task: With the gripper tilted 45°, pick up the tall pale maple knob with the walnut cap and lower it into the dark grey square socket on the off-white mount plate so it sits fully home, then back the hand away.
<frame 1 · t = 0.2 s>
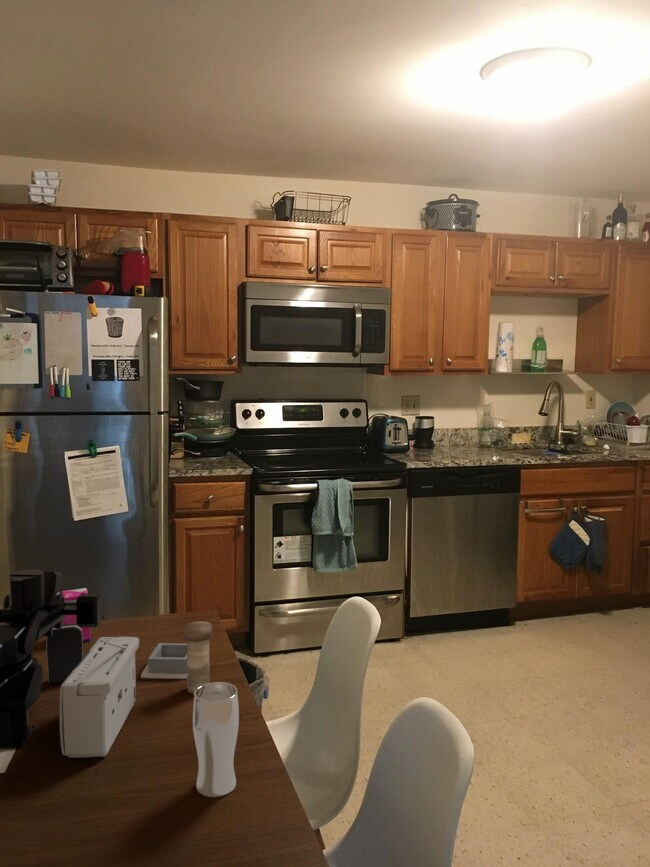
hand: (70, 596, 139), 17 cm above the table, tool horizontal, fingers open, 9 cm apart
maple knob: (198, 689, 134), on the table
mount plate: (173, 668, 144), on the table
supplement box: (76, 639, 159), on the table
stereo radio cassette player: (103, 730, 119), on the table
beer glass: (216, 786, 103), on the table
battery charger: (65, 679, 138), on the table
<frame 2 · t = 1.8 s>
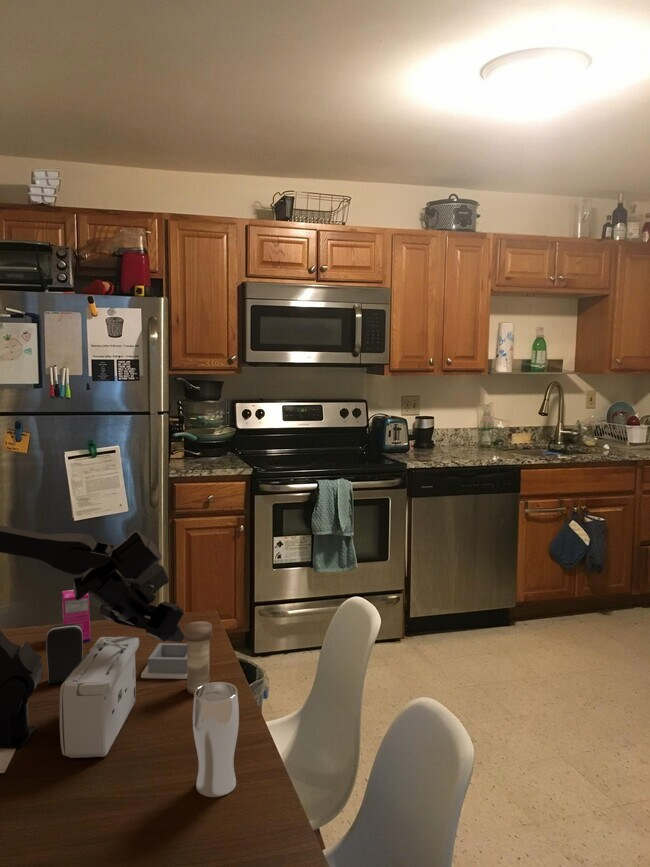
hand: (166, 633, 127), 14 cm above the table, tool tilted 45°, fingers open, 9 cm apart
nothing on the table moved.
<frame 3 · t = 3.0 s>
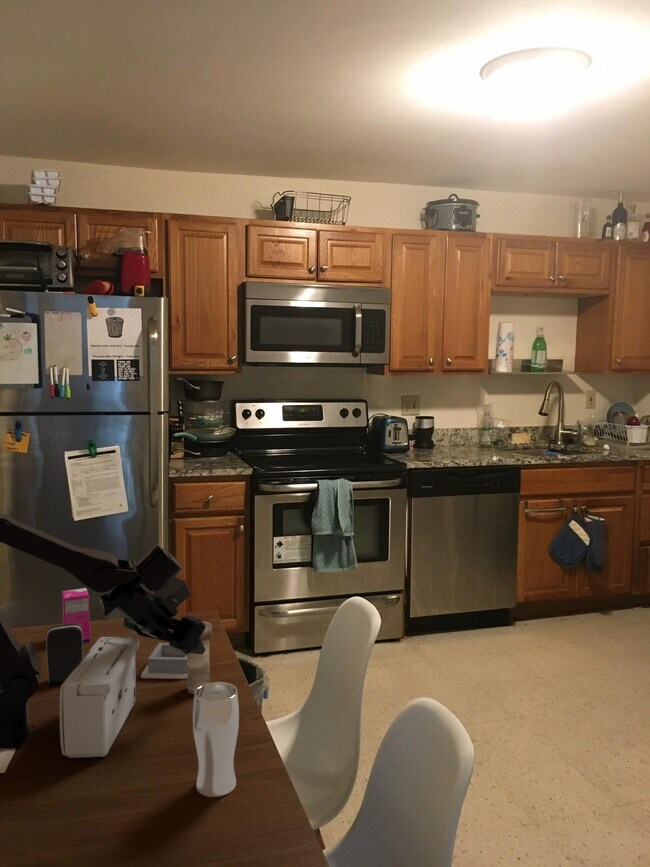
hand: (188, 645, 131), 10 cm above the table, tool tilted 45°, fingers open, 9 cm apart
nothing on the table moved.
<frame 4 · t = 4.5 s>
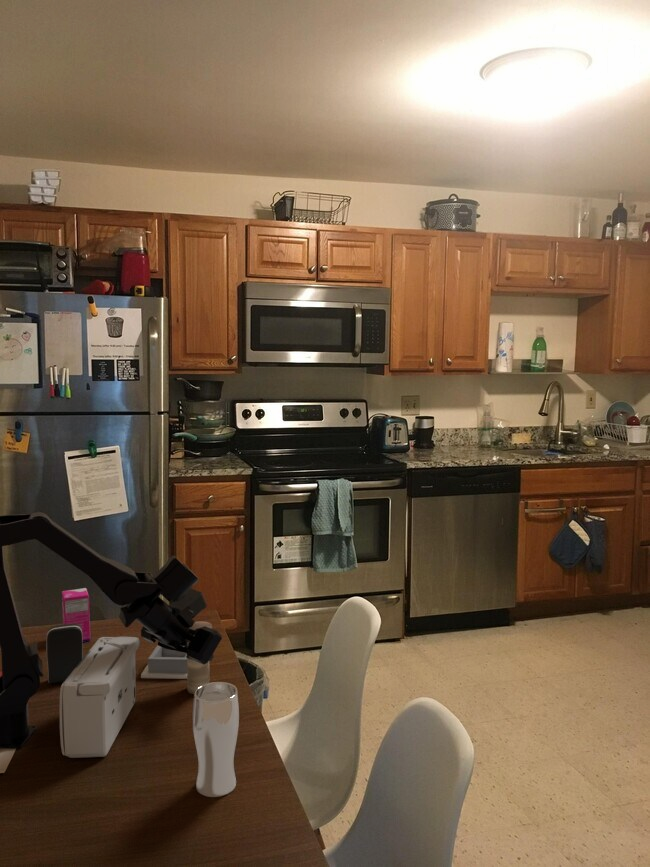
hand: (203, 655, 135), 7 cm above the table, tool tilted 45°, fingers closed on maple knob, 5 cm apart
maple knob: (198, 689, 134), on the table, touching gripper
everything else where it was.
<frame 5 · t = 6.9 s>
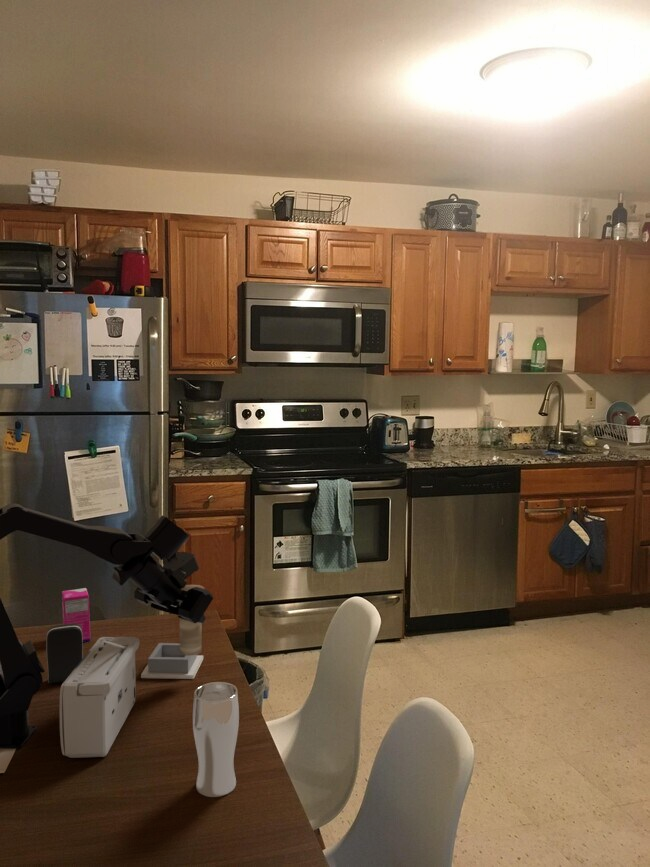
hand: (195, 617, 137), 13 cm above the table, tool tilted 45°, fingers closed on maple knob, 5 cm apart
maple knob: (190, 651, 136), point 7 cm above the table, touching gripper
everything else where it was.
when the fingers open (8 cm above the table, at t = 9.2 s): maple knob drops 1 cm, resting on mount plate.
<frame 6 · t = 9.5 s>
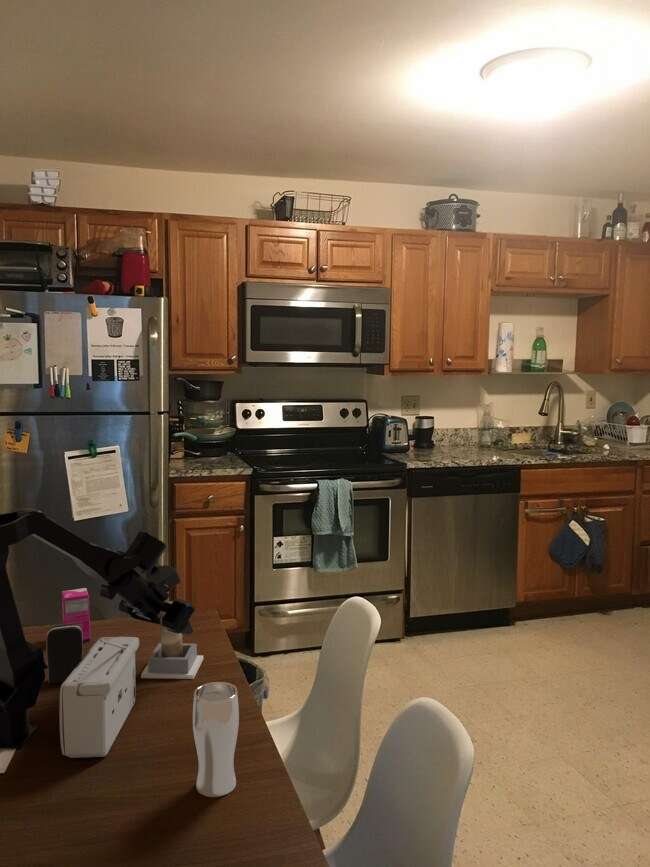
hand: (177, 627, 144), 9 cm above the table, tool tilted 45°, fingers open, 8 cm apart
maple knob: (172, 664, 144), point 1 cm above the table, touching mount plate
everything else where it was.
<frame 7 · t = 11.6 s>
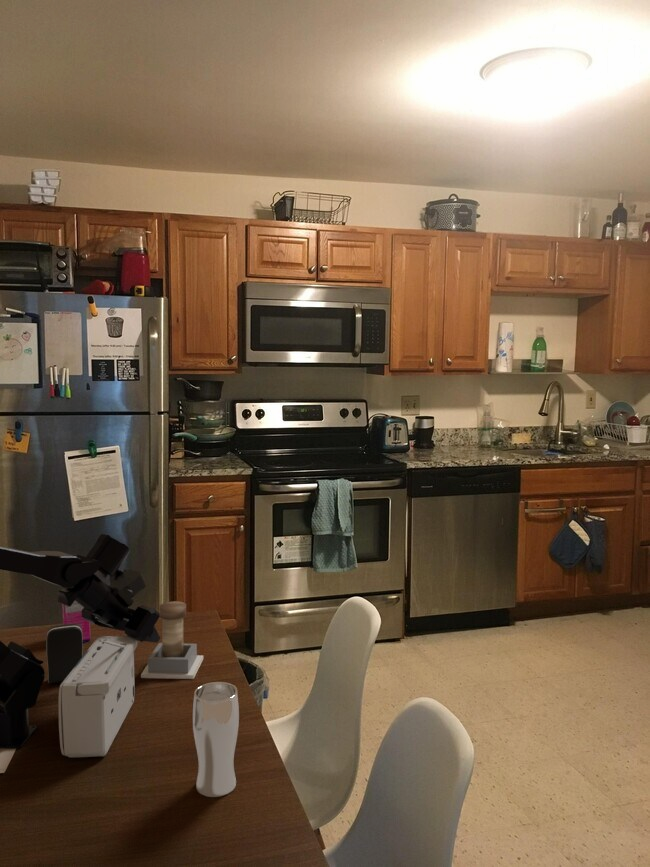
hand: (144, 634, 137), 10 cm above the table, tool tilted 45°, fingers open, 9 cm apart
stereo radio cassette player: (102, 729, 119), on the table, touching gripper
everything else where it was.
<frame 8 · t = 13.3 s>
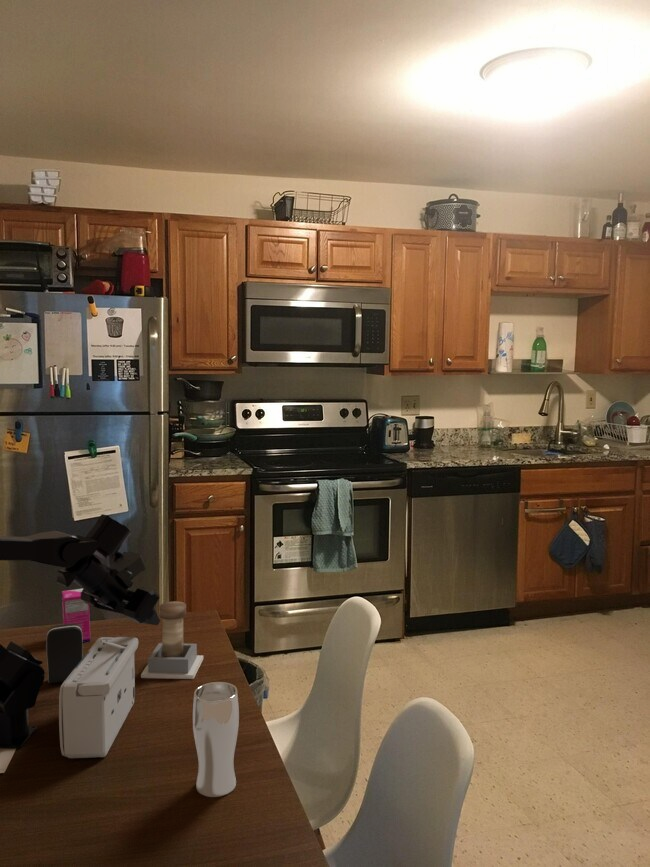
hand: (143, 617, 136), 14 cm above the table, tool tilted 45°, fingers open, 9 cm apart
stereo radio cassette player: (103, 730, 119), on the table
everything else where it was.
at the end: maple knob 0.1 cm off-centre on the mount plate, point 0.8 cm above the mount plate's base; maple knob tilted 0°; the gripper is holding nothing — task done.
